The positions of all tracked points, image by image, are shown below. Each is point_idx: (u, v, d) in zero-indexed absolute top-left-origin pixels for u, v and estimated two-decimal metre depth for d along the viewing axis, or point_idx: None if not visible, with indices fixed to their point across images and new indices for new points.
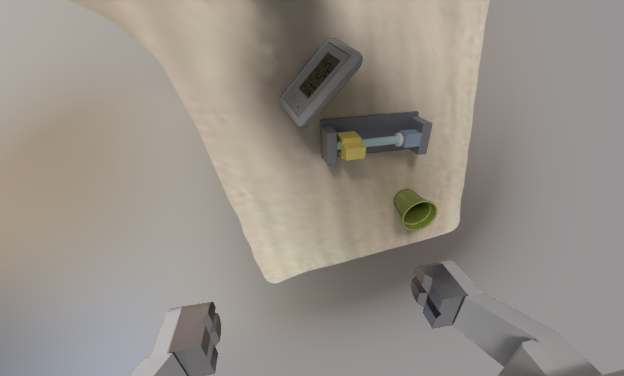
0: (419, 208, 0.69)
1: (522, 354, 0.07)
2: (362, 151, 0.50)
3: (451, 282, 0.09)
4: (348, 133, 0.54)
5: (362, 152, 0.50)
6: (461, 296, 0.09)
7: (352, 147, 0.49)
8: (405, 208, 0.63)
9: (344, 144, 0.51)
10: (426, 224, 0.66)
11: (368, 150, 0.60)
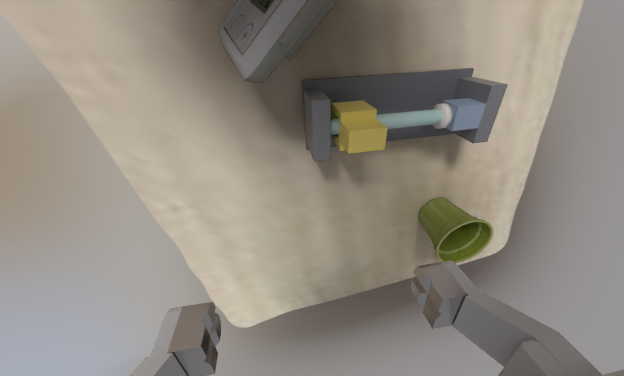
0: (459, 227, 0.45)
1: (522, 354, 0.07)
2: (380, 135, 0.25)
3: (451, 282, 0.09)
4: (352, 103, 0.29)
5: (380, 138, 0.25)
6: (461, 296, 0.09)
7: (360, 127, 0.25)
8: (442, 230, 0.39)
9: (345, 122, 0.27)
10: (472, 253, 0.42)
11: None
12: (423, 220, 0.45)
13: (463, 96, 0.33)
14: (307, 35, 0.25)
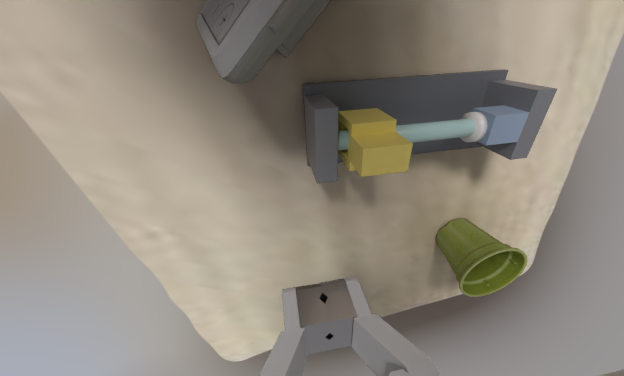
0: None
1: None
2: (403, 154, 0.20)
3: (345, 301, 0.09)
4: (364, 112, 0.24)
5: (403, 157, 0.20)
6: (349, 318, 0.08)
7: (378, 144, 0.19)
8: (467, 260, 0.33)
9: (356, 136, 0.21)
10: (500, 285, 0.36)
11: None
12: (442, 244, 0.39)
13: (496, 103, 0.27)
14: (308, 24, 0.19)
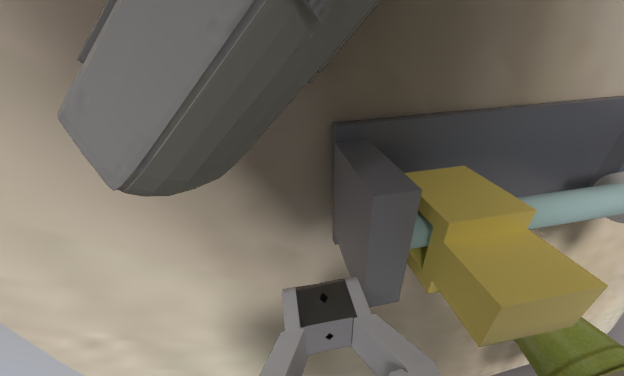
0: None
1: None
2: (578, 304, 0.09)
3: (345, 301, 0.09)
4: (450, 179, 0.13)
5: (576, 308, 0.09)
6: (349, 317, 0.08)
7: (524, 283, 0.09)
8: (569, 372, 0.22)
9: (458, 248, 0.10)
10: None
11: None
12: None
13: None
14: (368, 10, 0.08)
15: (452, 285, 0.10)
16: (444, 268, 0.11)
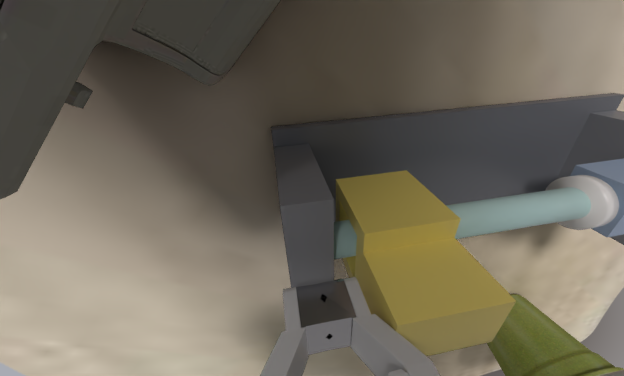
0: None
1: None
2: (489, 320, 0.08)
3: (344, 302, 0.09)
4: (385, 185, 0.12)
5: (488, 324, 0.08)
6: (349, 318, 0.08)
7: (430, 298, 0.08)
8: None
9: (375, 259, 0.10)
10: None
11: None
12: None
13: (607, 151, 0.16)
14: (256, 8, 0.08)
15: (370, 298, 0.10)
16: (365, 280, 0.10)
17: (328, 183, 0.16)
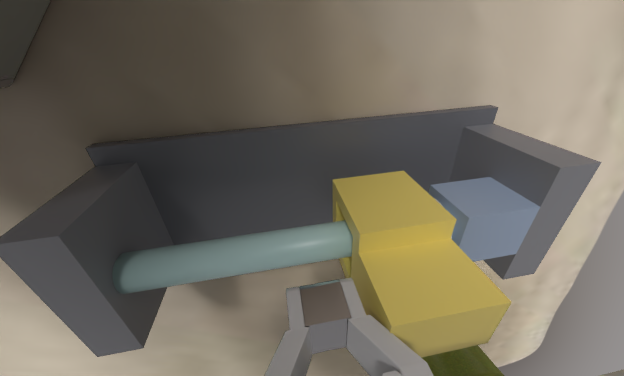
0: None
1: None
2: (484, 321, 0.08)
3: (340, 302, 0.09)
4: (382, 185, 0.12)
5: (483, 325, 0.08)
6: (344, 319, 0.08)
7: (425, 299, 0.08)
8: None
9: (371, 259, 0.10)
10: None
11: None
12: None
13: (476, 169, 0.15)
14: None
15: (366, 299, 0.10)
16: (361, 280, 0.10)
17: (176, 202, 0.15)
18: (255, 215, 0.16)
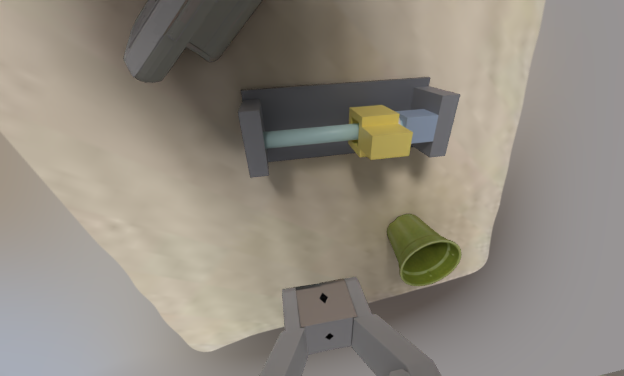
0: (429, 246, 0.42)
1: None
2: (405, 141, 0.24)
3: (345, 301, 0.09)
4: (371, 108, 0.28)
5: (405, 143, 0.24)
6: (349, 317, 0.08)
7: (384, 132, 0.24)
8: (405, 251, 0.36)
9: (366, 127, 0.25)
10: (441, 275, 0.39)
11: (339, 150, 0.34)
12: (390, 238, 0.42)
13: (419, 107, 0.30)
14: (226, 34, 0.22)
15: (364, 143, 0.25)
16: (362, 138, 0.26)
17: (272, 122, 0.30)
18: None
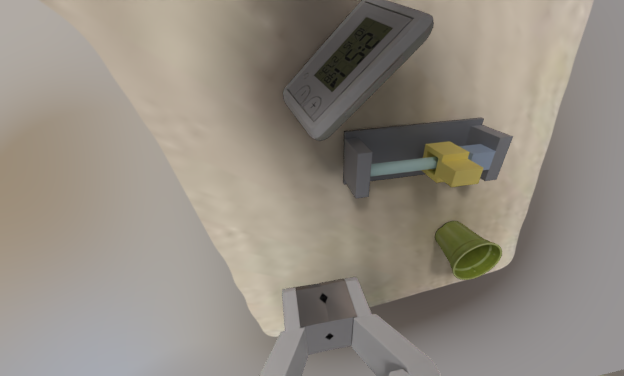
0: None
1: None
2: (477, 173, 0.33)
3: (345, 301, 0.09)
4: (444, 145, 0.37)
5: (477, 175, 0.33)
6: (349, 317, 0.08)
7: (462, 168, 0.33)
8: (458, 251, 0.45)
9: (446, 162, 0.34)
10: (483, 271, 0.48)
11: (409, 172, 0.43)
12: (439, 241, 0.51)
13: (475, 141, 0.40)
14: None
15: (444, 174, 0.34)
16: (441, 170, 0.35)
17: None
18: (388, 160, 0.41)
